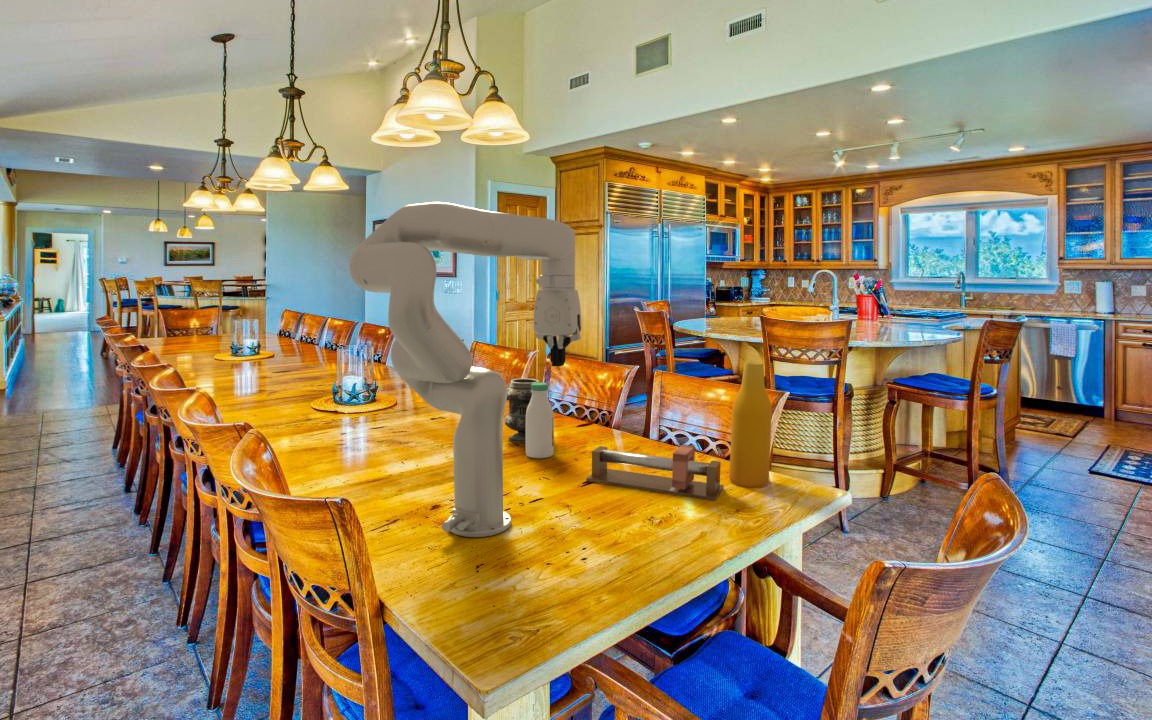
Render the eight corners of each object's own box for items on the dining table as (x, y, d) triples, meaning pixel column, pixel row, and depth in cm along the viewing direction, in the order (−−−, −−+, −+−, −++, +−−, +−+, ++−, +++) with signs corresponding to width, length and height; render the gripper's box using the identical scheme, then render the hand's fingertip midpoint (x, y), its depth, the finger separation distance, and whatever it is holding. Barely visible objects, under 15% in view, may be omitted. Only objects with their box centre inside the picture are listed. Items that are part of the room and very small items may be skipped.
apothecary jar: (552, 437, 192) (552, 379, 189) (529, 446, 182) (528, 385, 179) (520, 432, 198) (520, 375, 196) (496, 440, 188) (495, 381, 185)
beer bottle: (741, 489, 146) (746, 366, 142) (722, 477, 155) (726, 360, 151) (776, 486, 149) (782, 365, 145) (755, 474, 157) (760, 359, 153)
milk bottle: (549, 460, 169) (549, 386, 166) (522, 458, 170) (521, 385, 167) (556, 452, 176) (556, 381, 173) (529, 450, 178) (529, 380, 175)
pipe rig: (715, 501, 139) (716, 470, 138) (586, 481, 152) (586, 452, 151) (723, 488, 147) (724, 459, 146) (600, 470, 160) (601, 443, 159)
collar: (685, 489, 142) (686, 454, 141) (672, 487, 143) (672, 453, 142) (693, 478, 149) (694, 446, 148) (681, 477, 150) (682, 444, 149)
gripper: (520, 283, 139) (520, 365, 141) (581, 284, 132) (581, 370, 135) (536, 283, 145) (536, 361, 148) (595, 283, 139) (595, 365, 142)
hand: (557, 365), depth 141 cm, fingers closed
